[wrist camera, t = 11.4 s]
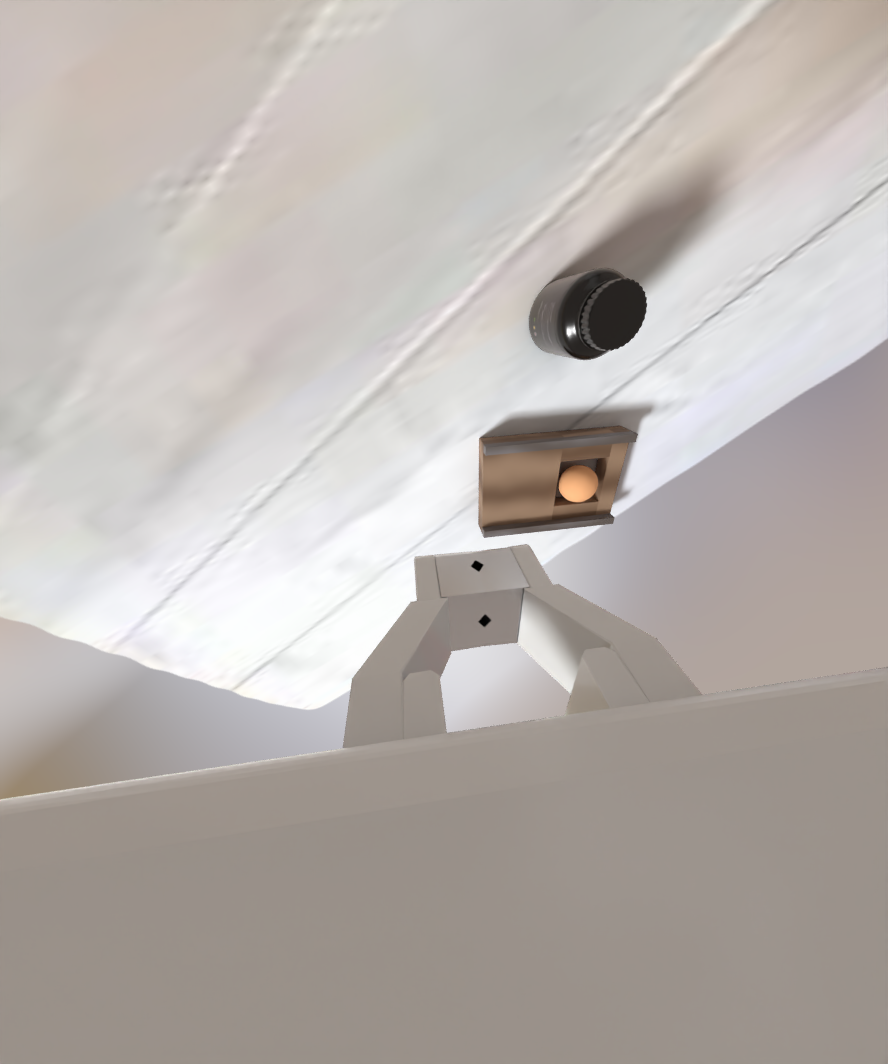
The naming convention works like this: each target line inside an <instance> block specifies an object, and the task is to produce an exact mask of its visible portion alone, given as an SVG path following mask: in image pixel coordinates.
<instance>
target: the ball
mask: <svg viewBox="0 0 888 1064" xmlns="http://www.w3.org/2000/svg"><path fill="white" fill-rule="evenodd" d="M558 487H559V491H560V493H561V494H562V496H563V497H564V498H566V499H567V500H569V501H572V502H582V501H585V500H588V499H589V498H591V497H592V496H593V495H594V493H595V492H596V490H597V487H598V478H597V475H596V473H595V472H594V471H593V470H592V469H591V468H589V467H587V466H584V465H575V466H571V467H569V468H568V469H566V470H565V471H564V472H563V473H562V474H561V476H560V478H559V482H558Z"/></svg>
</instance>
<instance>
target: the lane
mask: <svg viewBox="0 0 888 1064" xmlns="http://www.w3.org/2000/svg"><path fill="white" fill-rule="evenodd" d="M637 435H638V434H637V433H635V432H633V431H630V430H628V429H626V428H624V427H622V426H613V427H601V428H590V429H578V430H567V431H555V432H544V433H532V434H521V435H510V436H498V437H487V438H479V526H480V529H481V532H482V534H483V537H484V538H486V537H495V536H504V535H513V534H522V533H531V532H541V531H550V530H559V529H568V528H577V527H586V526H596V525H605V524H613V521H614V517H613V516H612V515H611V514H610V512H611V508H612V504H613V500H614V496H615V493H616V489H617V485H618V481H619V478H620V474H621V470H622V466H623V463H624V459H625V455H626V451H627V448H628V444H629V443H630V442H636V438H637ZM595 458H598V460H597V465H596V469H595V473H596V475H597V478H598V487H597V490H596V492H595V493H594V495H593V496H592V497H591V498H589V499H588V500H585V501H582V502H572V501H569V500H567V499H566V498H564V497H555V495H556V488H557V482H558V475H559V469H560V462H563V461H574V460H584V459H595Z"/></svg>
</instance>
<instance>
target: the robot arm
mask: <svg viewBox="0 0 888 1064" xmlns="http://www.w3.org/2000/svg"><path fill="white" fill-rule="evenodd" d="M414 565H415V580H416V596H417V601H414V602H410V604H409V605H408V606H407V608H406V609H405V610H404V612H403V613H402V614H401V616H400V617H399V618H398V619H397V621H396V622H395V623H394V625H393V626H392V627H391V629H390V630H389V631H388V633H387V634H386V635H385V637H384V638H383V639H382V640H381V642H380V643H379V644H378V646H377V647H376V648H375V650H374V651H373V652H372V654H371V655H370V656H369V657H368V659H367V660H366V661H365V663H364V664H363V665H362V667H361V668H360V669H359V671H358V672H357V673H356V675H355V676H354V677H353V678H352V684H351V691H350V699H349V706H348V714H347V721H346V728H345V736H344V743H343V749H336V750H330V751H323V752H316V753H310V754H302V755H296V756H290V757H282V758H276V759H269V760H263V761H255V762H249V763H242V764H235V765H229V766H222V767H216V768H208V769H202V770H195V771H188V772H182V773H175V774H168V775H161V776H155V777H148V778H141V779H134V780H128V781H121V782H114V783H107V784H101V785H94V786H88V787H81V788H74V789H67V790H60V791H53V792H47V793H40V794H33V795H26V796H20V797H13V798H7V799H0V1064H888V667H886V668H878V669H871V670H865V671H858V672H851V673H844V674H838V675H832V676H824V677H818V678H811V679H805V680H798V681H791V682H784V683H777V684H772V685H764V686H758V687H751V688H745V689H737V690H731V691H724V692H717V693H711V694H705V695H702V694H701V692H700V691H699V690H698V689H697V687H696V686H695V685H694V684H693V683H692V681H691V680H690V679H689V678H688V677H687V675H686V674H685V673H684V672H683V670H682V669H681V668H680V667H679V665H678V664H677V663H676V662H675V661H674V659H673V658H672V657H671V655H670V654H669V653H668V652H667V650H666V649H665V648H664V647H663V646H662V644H661V643H660V642H659V641H658V639H657V638H654V637H653V636H651V635H649V634H648V633H646V632H644V631H642V630H640V629H638V628H637V627H635V626H633V625H631V624H630V623H628V622H626V621H624V620H622V619H621V618H619V617H617V616H615V615H613V614H611V613H610V612H608V611H606V610H604V609H602V608H601V607H599V606H597V605H595V604H593V603H591V602H590V601H588V600H586V599H584V598H583V597H581V596H579V595H577V594H575V593H573V592H572V591H570V590H568V589H566V588H564V587H563V586H561V585H559V584H556V585H553V584H552V583H551V581H550V579H549V578H548V576H547V574H546V573H545V571H544V569H543V568H542V566H541V564H540V562H539V561H538V559H537V557H536V556H535V554H534V552H533V551H532V549H531V547H530V546H529V545H527V544H525V545H518V546H511V547H508V548H500V549H491V550H482V551H474V552H472V551H471V552H460V553H448V554H437V555H428V556H418V557H415V559H414ZM508 643H518V645H519V646H520V647H521V648H522V649H523V650H524V651H526V652H527V653H528V654H529V655H530V656H531V657H532V658H533V659H534V660H535V661H536V662H537V663H538V664H539V665H540V666H541V667H543V668H544V669H545V670H546V671H547V672H548V673H549V674H550V675H551V676H552V677H553V678H554V679H555V680H556V681H557V682H559V683H560V684H561V685H562V686H563V687H564V688H565V689H566V690H567V691H568V692H569V693H570V694H571V696H570V699H569V702H568V705H567V709H566V712H565V715H563V716H556V717H550V718H543V719H537V720H530V721H523V722H517V723H510V724H503V725H497V726H490V727H484V728H477V729H470V730H463V731H458V732H450V733H447V732H446V724H445V716H444V708H443V700H442V692H441V684H440V677H441V675H442V673H443V671H444V668H445V666H446V664H447V662H448V659H449V657H450V655H451V651H455V650H461V649H468V648H474V647H480V646H488V645H498V644H508Z"/></svg>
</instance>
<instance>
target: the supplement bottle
mask: <svg viewBox="0 0 888 1064" xmlns="http://www.w3.org/2000/svg"><path fill="white" fill-rule="evenodd" d="M646 299H647V298H646V296H645V292H644V291H643V288H642V287H641V286H640V285H639V283H637V282H635V281H634V280H630V279H628V278H625V277H624V276H623V275H622V274H621V273H620V272H618V271H616V270H614V269H610V268H598V269H593V270H589V271H586V272H582V273H578V274H575V275H571V276H568V277H564V278H561V279H558V280H556V281H553V282H552V283H550V284H548V285H547V286H546V287H545V288H544V289H543V290H542V291H541V292H540V293H539V294H538V296H537V297H536V299H535V301H534V303H533V305H532V308H531V311H530V316H529V330H530V334H531V337H532V339H533V341H534V343H535V344H536V345H537V346H538V347H539V348H540V349H541V350H543V351H545V352H547V353H551V354H555V355H560V356H564V357H569V358H574V359H579V360H591V359H595V358H598V357H600V356H602V355H604V354H606V353H607V352H609V351H612V350H614V349H618V348H619V347H622V346H624V345H625V344H626V343H628V342H629V341H630V340H631V339H632V338H634V336H635V334H636V333H637V332H638V331H639V328H640V327H641V326H642V322H643V321H644V319H645V314H646V307H647V303H646Z"/></svg>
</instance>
